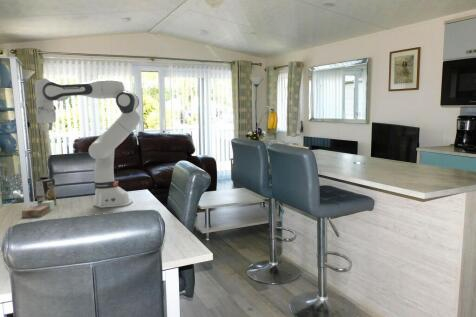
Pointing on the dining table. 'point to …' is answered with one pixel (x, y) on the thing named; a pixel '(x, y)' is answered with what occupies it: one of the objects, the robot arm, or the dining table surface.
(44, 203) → the sage cube
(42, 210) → the walnut block
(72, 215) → the dining table surface
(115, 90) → the robot arm
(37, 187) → the coffee box
